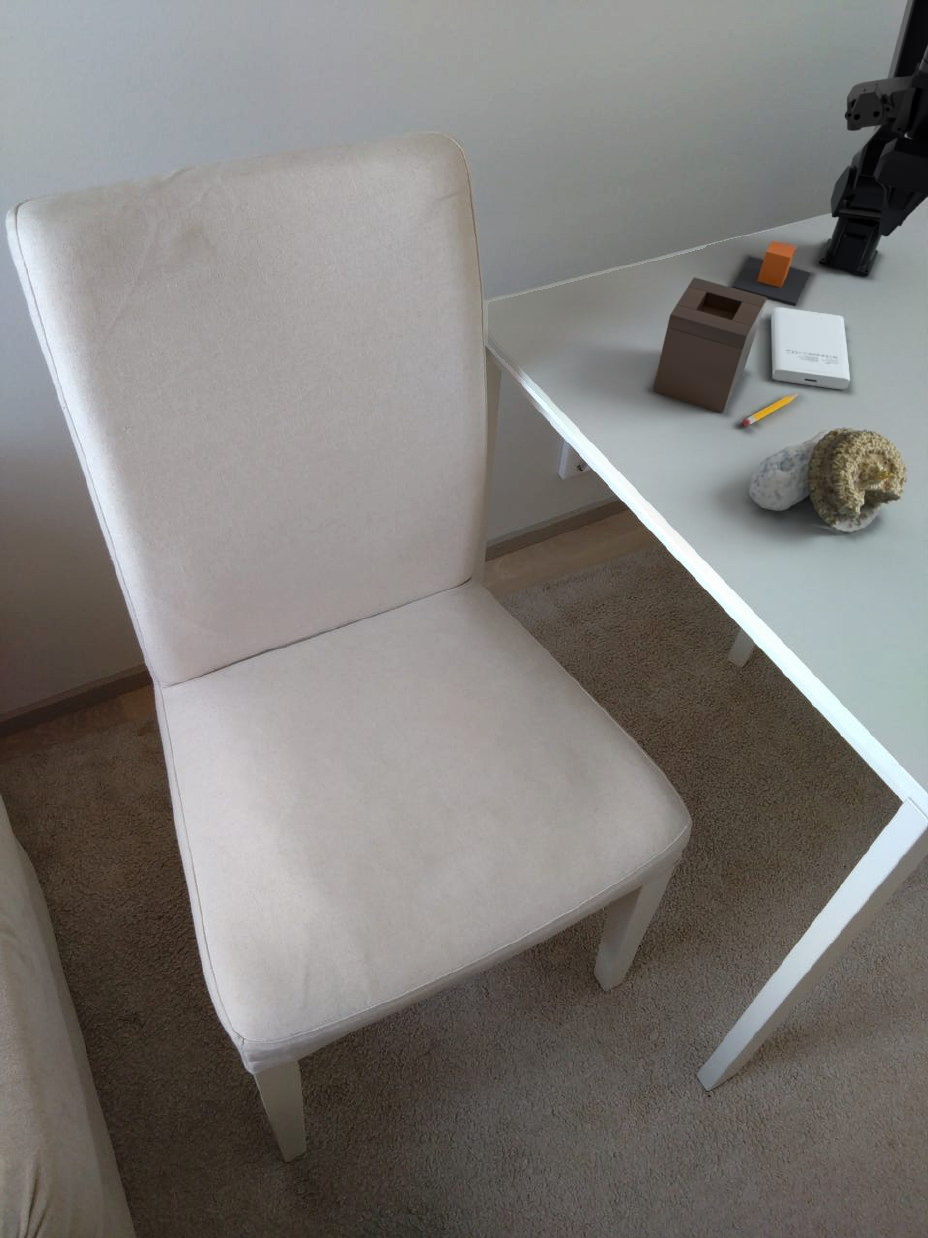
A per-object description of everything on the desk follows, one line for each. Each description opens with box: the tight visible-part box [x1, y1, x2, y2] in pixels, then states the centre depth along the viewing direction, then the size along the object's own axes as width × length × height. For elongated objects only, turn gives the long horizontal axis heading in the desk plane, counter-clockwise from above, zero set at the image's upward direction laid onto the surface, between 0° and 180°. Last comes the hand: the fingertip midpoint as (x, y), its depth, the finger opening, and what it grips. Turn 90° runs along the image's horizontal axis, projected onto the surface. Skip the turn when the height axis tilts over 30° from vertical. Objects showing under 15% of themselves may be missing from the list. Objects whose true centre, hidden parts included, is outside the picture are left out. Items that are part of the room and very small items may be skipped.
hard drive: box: [770, 306, 851, 390], centre depth 104 cm, size 2×8×12 cm
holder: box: [652, 276, 768, 414], centre depth 97 cm, size 8×8×10 cm
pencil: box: [742, 393, 798, 428], centre depth 98 cm, size 1×9×1 cm, turn 128°
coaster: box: [731, 255, 811, 306], centre depth 114 cm, size 8×8×1 cm
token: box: [757, 240, 797, 288], centre depth 113 cm, size 3×3×4 cm
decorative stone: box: [748, 429, 835, 512], centre depth 89 cm, size 13×7×5 cm, turn 124°
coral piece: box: [807, 427, 908, 533], centre depth 84 cm, size 10×10×5 cm
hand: (890, 216), depth 101 cm, fingers open, 9 cm apart
